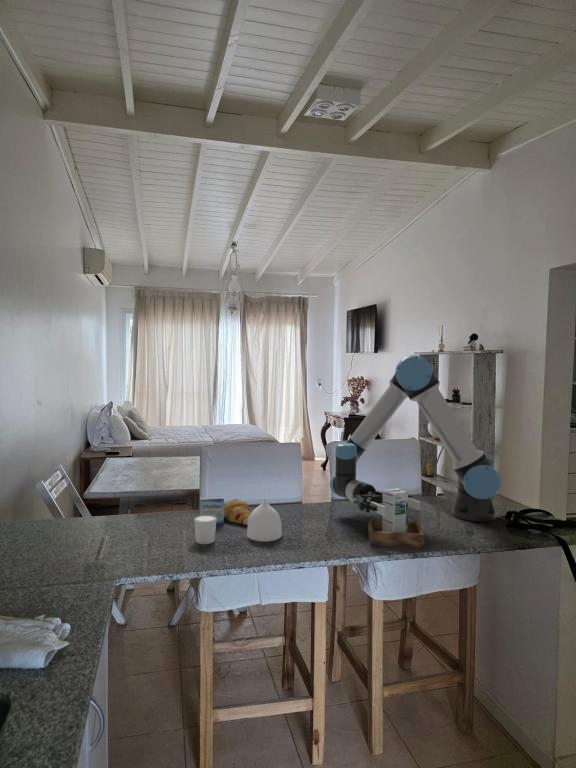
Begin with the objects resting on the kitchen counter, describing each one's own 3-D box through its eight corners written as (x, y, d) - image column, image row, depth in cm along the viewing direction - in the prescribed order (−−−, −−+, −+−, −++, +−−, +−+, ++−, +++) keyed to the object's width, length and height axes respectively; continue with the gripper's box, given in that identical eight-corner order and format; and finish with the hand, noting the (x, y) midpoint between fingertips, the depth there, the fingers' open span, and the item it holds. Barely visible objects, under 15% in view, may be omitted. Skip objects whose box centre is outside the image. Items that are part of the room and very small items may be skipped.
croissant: (257, 535, 170) (267, 513, 171) (233, 526, 165) (244, 503, 166) (230, 518, 188) (239, 498, 189) (208, 509, 183) (218, 488, 184)
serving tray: (418, 534, 163) (418, 521, 163) (423, 548, 150) (424, 534, 150) (368, 531, 165) (368, 519, 165) (369, 545, 152) (370, 531, 152)
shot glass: (220, 538, 156) (220, 516, 156) (209, 546, 150) (210, 522, 149) (200, 536, 158) (200, 514, 158) (189, 543, 152) (189, 520, 152)
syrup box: (393, 540, 154) (394, 493, 153) (381, 534, 159) (382, 489, 158) (408, 537, 156) (409, 491, 156) (395, 532, 161) (396, 487, 161)
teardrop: (265, 527, 167) (266, 492, 167) (288, 536, 160) (289, 498, 159) (239, 535, 160) (240, 497, 159) (262, 544, 152) (263, 504, 152)
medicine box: (200, 525, 169) (200, 499, 169) (199, 521, 173) (199, 496, 173) (224, 523, 171) (224, 498, 171) (222, 520, 175) (222, 495, 175)
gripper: (389, 500, 179) (432, 515, 160) (330, 508, 167) (369, 526, 149) (390, 479, 179) (433, 492, 160) (331, 485, 167) (369, 501, 148)
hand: (402, 508), depth 154 cm, fingers open, 13 cm apart
